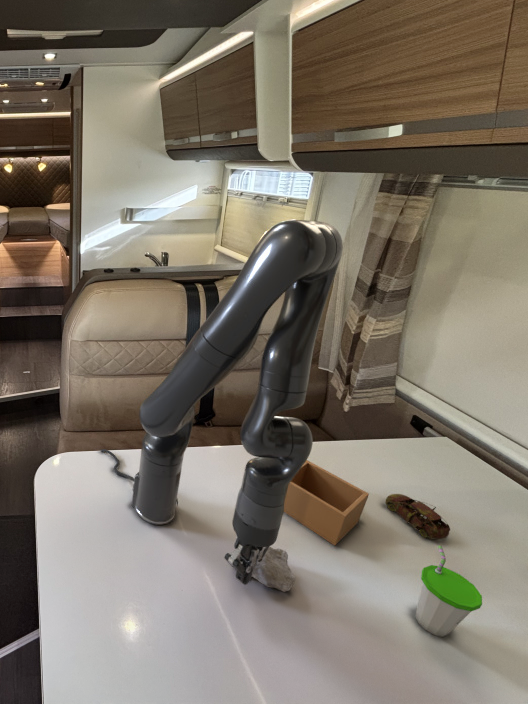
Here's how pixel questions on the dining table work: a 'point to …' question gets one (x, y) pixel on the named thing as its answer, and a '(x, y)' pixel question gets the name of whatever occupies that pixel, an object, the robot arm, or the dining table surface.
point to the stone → (274, 570)
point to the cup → (445, 599)
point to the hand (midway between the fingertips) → (242, 579)
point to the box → (324, 502)
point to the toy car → (419, 516)
